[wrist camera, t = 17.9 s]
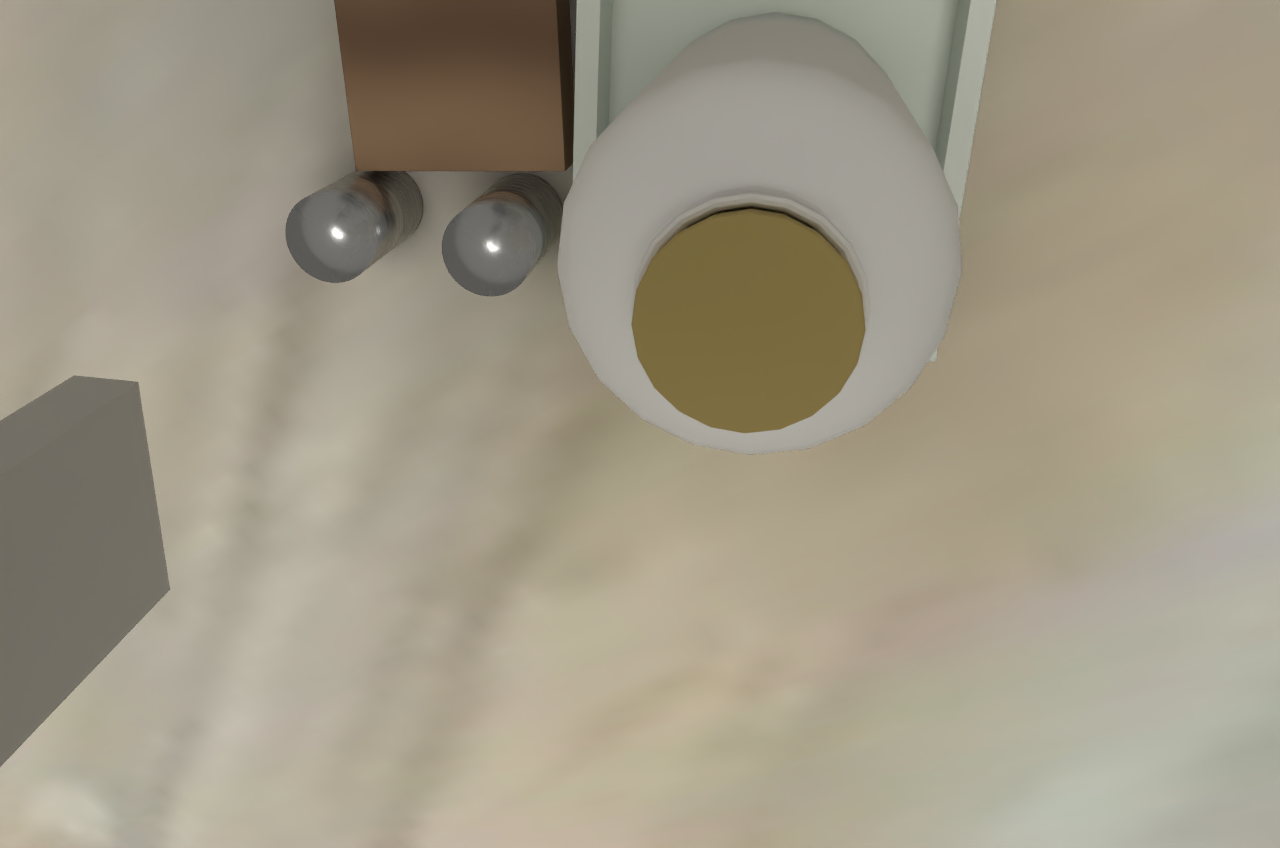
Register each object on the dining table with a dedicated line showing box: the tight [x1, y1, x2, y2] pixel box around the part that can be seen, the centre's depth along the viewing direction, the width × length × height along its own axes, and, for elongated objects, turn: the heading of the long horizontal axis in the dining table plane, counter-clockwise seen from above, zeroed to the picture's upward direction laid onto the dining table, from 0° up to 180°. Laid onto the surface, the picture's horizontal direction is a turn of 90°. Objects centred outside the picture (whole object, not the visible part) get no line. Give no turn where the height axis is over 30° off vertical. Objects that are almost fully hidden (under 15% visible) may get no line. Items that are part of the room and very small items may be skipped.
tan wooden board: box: [334, 0, 574, 171], centre depth 35 cm, size 10×7×2 cm
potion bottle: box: [557, 12, 962, 455], centre depth 27 cm, size 8×8×18 cm
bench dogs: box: [286, 171, 563, 296], centre depth 36 cm, size 3×8×5 cm, turn 87°
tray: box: [569, 0, 997, 362], centre depth 35 cm, size 12×12×3 cm
